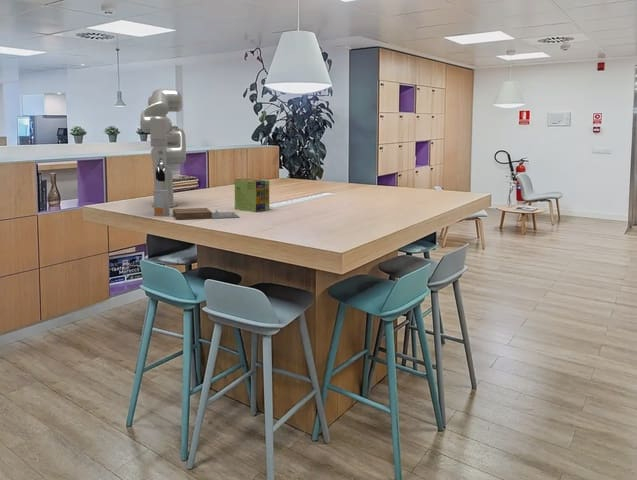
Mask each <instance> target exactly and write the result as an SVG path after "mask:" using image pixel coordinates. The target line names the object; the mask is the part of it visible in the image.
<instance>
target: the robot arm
mask: <svg viewBox="0 0 637 480" xmlns="http://www.w3.org/2000/svg"><path fill="white" fill-rule="evenodd" d="M182 98H183V97H182V94H181V92H180V91H179V90H177V89H173V88H172V89H171V88H170V89H168V88H166V89H165V88H160V89H159V88H158V89H155V90H154V91H152V93H151V96H149V97H148V100H147V105H148V106H147V107H145V108H144V109H142V111H141V114H140V123H139V126H140V128H141V129H140V130H141V131H142V132H144V133H150V134H149V137H150V147H152V148H151V150H150V155H151V156H150V157H151V160H152V167H153V168H152V169H153V182H154V183H153V184H154V185H153V186H154V188H153V190H169V208H175V207H177V206H178V205H177V204H178V203H175V201H174V181H173V180H174V175H173V171H172V170H171V168H170V167H169V165H182V164H185V162H186V159H187V147H186V146H187V145H186V134H185V131H184V129H182V128H179V127H178V128H177V127H173V124H172V120H171V119H170V118H169V117H168V116H167V115H168V113H170V112H171V113H173V112H174V113H178V112H180V111H182V109H183V99H182ZM151 206H152V207H153V208H154V203H152V204H151Z"/></svg>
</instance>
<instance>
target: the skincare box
mask: <svg viewBox="0 0 637 480" xmlns="http://www.w3.org/2000/svg"><path fill="white" fill-rule="evenodd" d="M152 194H153V204H154V207H153V214H154V216H161V217H166V216H169V215H170V207H169V190H154V189H153V193H152Z"/></svg>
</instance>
